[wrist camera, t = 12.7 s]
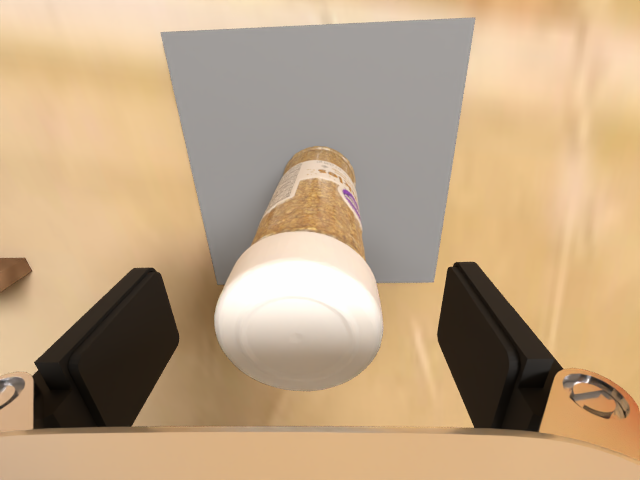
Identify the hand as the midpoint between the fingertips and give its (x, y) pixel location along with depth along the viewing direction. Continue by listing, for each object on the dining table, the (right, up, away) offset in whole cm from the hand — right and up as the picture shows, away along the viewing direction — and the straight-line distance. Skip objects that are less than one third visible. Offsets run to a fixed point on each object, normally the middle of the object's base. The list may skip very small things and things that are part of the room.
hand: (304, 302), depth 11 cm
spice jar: (0, +6, +10) cm, 11 cm away
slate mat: (+1, +6, +10) cm, 12 cm away
